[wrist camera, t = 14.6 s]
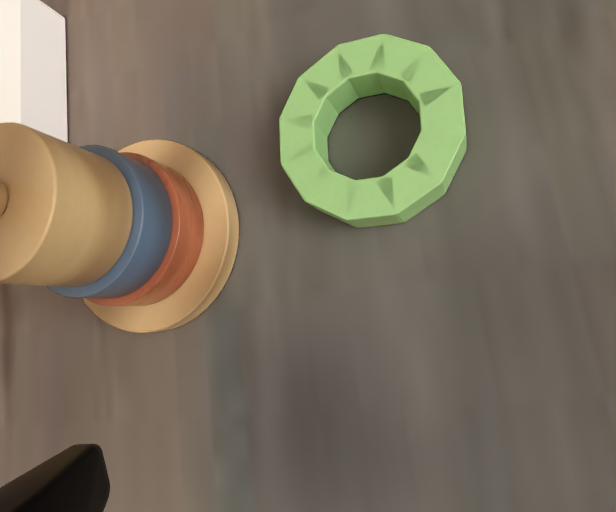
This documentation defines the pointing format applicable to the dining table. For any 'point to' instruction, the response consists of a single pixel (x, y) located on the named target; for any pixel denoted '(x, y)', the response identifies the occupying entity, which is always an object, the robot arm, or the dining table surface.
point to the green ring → (361, 83)
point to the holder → (33, 67)
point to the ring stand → (116, 226)
